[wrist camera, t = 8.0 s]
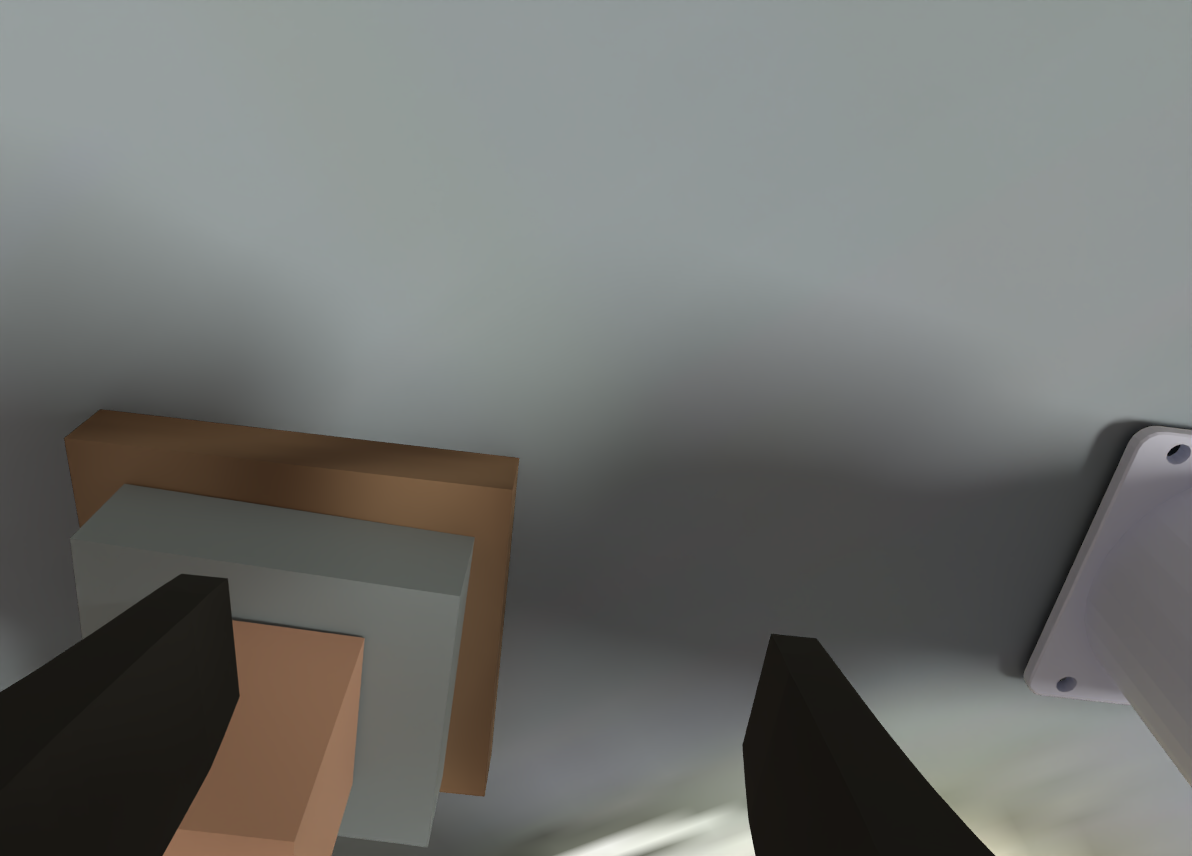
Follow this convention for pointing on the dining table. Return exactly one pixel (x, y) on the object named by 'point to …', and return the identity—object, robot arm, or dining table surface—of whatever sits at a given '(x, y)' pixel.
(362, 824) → the slate top slab
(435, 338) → the dining table surface
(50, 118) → the dining table surface
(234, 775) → the terracotta block
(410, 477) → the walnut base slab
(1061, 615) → the robot arm
